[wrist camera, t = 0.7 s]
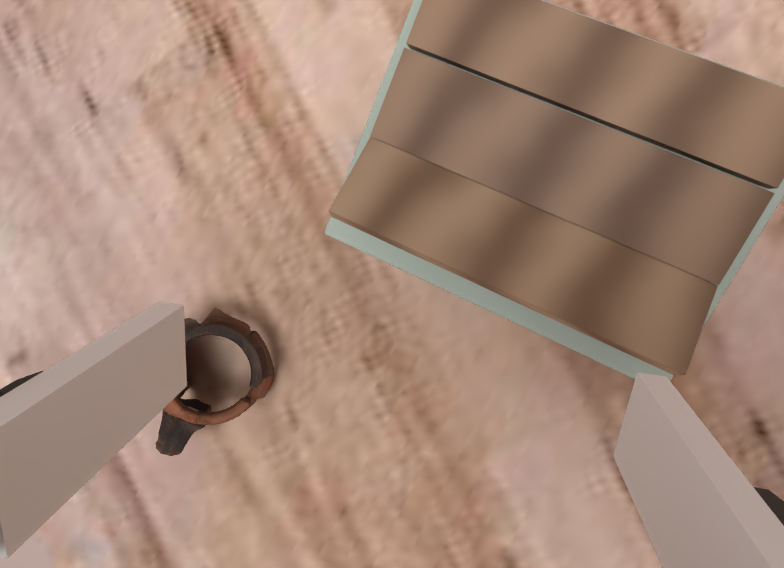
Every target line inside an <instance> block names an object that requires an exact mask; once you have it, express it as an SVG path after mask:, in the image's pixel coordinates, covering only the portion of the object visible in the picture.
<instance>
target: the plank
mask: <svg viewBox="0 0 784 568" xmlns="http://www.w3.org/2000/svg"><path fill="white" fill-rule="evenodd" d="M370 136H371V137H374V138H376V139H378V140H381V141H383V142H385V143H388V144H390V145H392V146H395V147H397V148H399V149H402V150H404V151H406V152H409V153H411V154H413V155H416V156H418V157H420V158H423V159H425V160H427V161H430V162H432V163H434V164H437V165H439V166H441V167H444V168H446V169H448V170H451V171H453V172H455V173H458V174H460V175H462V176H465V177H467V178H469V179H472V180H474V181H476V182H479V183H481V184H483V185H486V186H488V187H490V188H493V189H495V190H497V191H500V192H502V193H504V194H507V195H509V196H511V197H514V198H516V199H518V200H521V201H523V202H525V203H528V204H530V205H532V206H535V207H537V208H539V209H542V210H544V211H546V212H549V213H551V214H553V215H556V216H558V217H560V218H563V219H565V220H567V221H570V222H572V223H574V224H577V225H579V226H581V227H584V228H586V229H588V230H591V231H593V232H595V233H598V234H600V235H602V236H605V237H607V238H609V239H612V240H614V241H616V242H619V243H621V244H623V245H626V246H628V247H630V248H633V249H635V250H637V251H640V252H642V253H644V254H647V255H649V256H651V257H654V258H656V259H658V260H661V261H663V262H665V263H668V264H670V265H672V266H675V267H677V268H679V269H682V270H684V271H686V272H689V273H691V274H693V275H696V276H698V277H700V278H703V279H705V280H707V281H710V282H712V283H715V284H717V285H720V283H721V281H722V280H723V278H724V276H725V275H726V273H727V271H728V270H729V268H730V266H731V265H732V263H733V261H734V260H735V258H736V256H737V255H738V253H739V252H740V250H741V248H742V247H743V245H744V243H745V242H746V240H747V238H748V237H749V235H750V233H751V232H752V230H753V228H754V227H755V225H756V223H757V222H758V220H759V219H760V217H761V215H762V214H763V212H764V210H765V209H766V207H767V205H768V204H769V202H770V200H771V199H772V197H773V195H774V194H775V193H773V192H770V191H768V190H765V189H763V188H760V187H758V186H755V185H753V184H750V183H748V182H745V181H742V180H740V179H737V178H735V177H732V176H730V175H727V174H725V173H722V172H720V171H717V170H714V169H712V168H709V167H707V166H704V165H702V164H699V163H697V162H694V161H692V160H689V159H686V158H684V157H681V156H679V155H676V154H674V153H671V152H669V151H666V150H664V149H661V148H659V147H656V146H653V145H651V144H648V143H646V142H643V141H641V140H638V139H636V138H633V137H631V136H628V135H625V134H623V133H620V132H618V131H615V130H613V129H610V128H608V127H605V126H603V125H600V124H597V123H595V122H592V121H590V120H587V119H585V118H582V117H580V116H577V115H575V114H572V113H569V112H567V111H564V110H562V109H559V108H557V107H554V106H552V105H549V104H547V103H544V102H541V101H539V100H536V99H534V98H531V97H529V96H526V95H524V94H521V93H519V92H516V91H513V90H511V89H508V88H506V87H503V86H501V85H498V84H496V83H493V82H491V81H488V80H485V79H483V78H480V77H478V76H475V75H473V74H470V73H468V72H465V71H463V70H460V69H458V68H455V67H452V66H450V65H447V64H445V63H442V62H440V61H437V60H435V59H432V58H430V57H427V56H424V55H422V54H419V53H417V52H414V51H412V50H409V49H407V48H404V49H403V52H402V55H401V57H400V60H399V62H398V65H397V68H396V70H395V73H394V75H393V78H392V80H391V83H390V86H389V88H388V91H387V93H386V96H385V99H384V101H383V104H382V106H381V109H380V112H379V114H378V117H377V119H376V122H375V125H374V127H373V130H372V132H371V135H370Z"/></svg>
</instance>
